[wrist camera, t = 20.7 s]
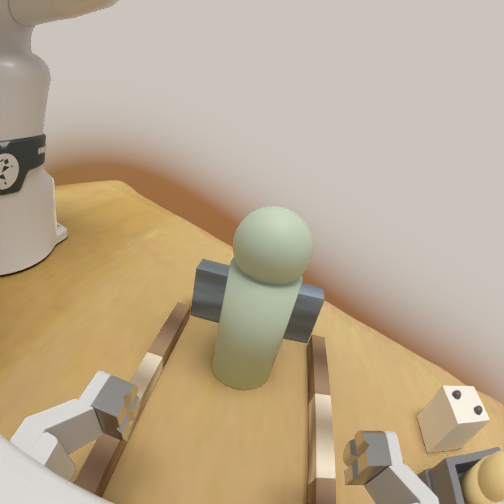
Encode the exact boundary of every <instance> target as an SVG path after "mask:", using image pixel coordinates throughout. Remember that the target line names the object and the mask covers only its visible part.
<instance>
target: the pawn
mask: <svg viewBox="0 0 504 504" xmlns="http://www.w3.org/2000/svg"><path fill="white" fill-rule="evenodd" d="M233 253H234V258H233V259H232V260H231V263H230V269H229V274H228V279H227V284H226V289H225V295H224V300H223V305H222V310H221V316H220V321H219V326H218V332H217V337H216V343H215V348H214V354H213V359H212V370H213V373H214V375H215V376H216V377H217V379H218V380H220V381H221V382H222V383H223V384H225V385H227V386H229V387H231V388H235V389H239V390H251V389H255V388H258V387H260V386H261V385H263V384H264V383H265V382H266V381H267V379H268V377H269V374H270V371H271V369H272V366H273V363H274V361H275V358H276V355H277V353H278V350H279V347H280V344H281V342H282V339H283V336H284V333H285V330H286V328H287V325H288V322H289V319H290V316H291V313H292V310H293V307H294V304H295V302H296V299H297V296H298V293H299V290H300V287H301V283H302V280H303V278H302V273H303V272H304V271H305V270H306V268H307V267H308V265H309V263H310V260H311V258H312V253H313V240H312V236H311V233H310V230H309V228H308V226H307V225H306V223H305V222H304V221H303V219H302V218H301V217H299V216H298V215H297V214H296V213H294V212H292V211H291V210H288V209H286V208H282V207H276V206H274V207H273V206H270V207H264V208H260V209H258V210H255V211H253V212H252V213H250V214H249V215H248V216H247V217H245V218H244V219H243V221H242V222H241V223H240V225H239V226H238V228H237V230H236V233H235V236H234V240H233Z"/></svg>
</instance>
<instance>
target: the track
mask: <svg viewBox="0 0 504 504" xmlns="http://www.w3.org/2000/svg"><path fill="white" fill-rule="evenodd" d="M229 269H230V266H229V265H225V264H221V263H217V262H213V261H209V260H205V259H202V261H201V262H200V264H199V265H198V267H197V268H196V276H195V283H194V291H193V299H192V308H191V315H193V316H197V317H201V318H204V319H208V320H212V321H215V322H219V321H220V316H221V310H222V305H223V300H224V295H225V289H226V284H227V279H228V274H229ZM324 300H325V299H324V293H323V288H321V287H316V286H312V285H308V284H304V283H301V287H300V290H299V293H298V296H297V299H296V302H295V304H294V307H293V310H292V313H291V316H290V319H289V322H288V325H287V328H286V330H285V333H284V336H283V338H287V339H291V340H296V341H301V342H306V343H307V342H308V339H309V337H310V335H311V332H312V330H313V327H314V325H315V322H316V320H317V317H318V315H319V312H320V310H321V307H322V305H323V302H324ZM189 314H190V305H186V304H183V303H179V302H178V303H177V305H176V306H175V308H174V309H173V311H172V313H171V314H170V316H169V317H168V319H167V321H166V322H165V324H164V326H163V327H162V329H161V330H160V332H159V334H158V335H157V337H156V339H155V340H154V342H153V344H152V345H151V347H150V349H149V350H148V352H147V354H146V355H145V357H144V359H143V360H142V362H141V364H140V365H139V367H138V369H137V370H136V372H135V374H134V376H133V377H132V379H131V381H130V383H133V384H135V385H138V390H139V391H138V393H137V396H138V397H139V399H140V405H139V410H138V413H137V415H136V418H135V420H133V421H131V422H129V425H130V430H129V432H128V434H127V436H126V438H125V440H124V441H121V440H119V439H116V438H114V437H111V436H109V435H106V434H104V433H103V435H102V436H100V437H98V439H97V441H96V443H95V445H94V446H93V448H92V450H91V452H90V454H89V456H88V458H87V459H86V461H85V463H84V465H83V467H82V469H81V471H80V473H79V475H78V477H77V479H76V480H75V482H74V484H76V485H77V486H79V487H81V488H83V489H85V490H87V491H89V492H91V493H93V494H95V495H97V496H99V497H102V494H103V492H104V490H105V488H106V486H107V483H108V481H109V479H110V477H111V475H112V473H113V470H114V468H115V466H116V464H117V462H118V460H119V458H120V456H121V453H122V451H123V449H124V447H125V445H126V443H127V441H128V439H129V437H130V435H131V432H132V430H133V428H134V426H135V424H136V422H137V420H138V418H139V416H140V414H141V412H142V410H143V408H144V406H145V404H146V402H147V400H148V398H149V396H150V394H151V392H152V390H153V388H154V386H155V384H156V382H157V380H158V378H159V376H160V374H161V372H162V370H163V368H164V366H165V364H166V362H167V360H168V358H169V356H170V354H171V352H172V350H173V348H174V346H175V344H176V342H177V340H178V338H179V336H180V334H181V332H182V331H183V329H184V327H185V325H186V323H187V321H188V319H189ZM307 354H308V391H309V464H308V497H307V504H336V481H335V456H334V437H333V422H332V409H331V397H330V385H329V375H328V365H327V356H326V347H325V338H324V337H320V336H315V335H312V336H311V338H310V341H309V343H308V345H307Z"/></svg>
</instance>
